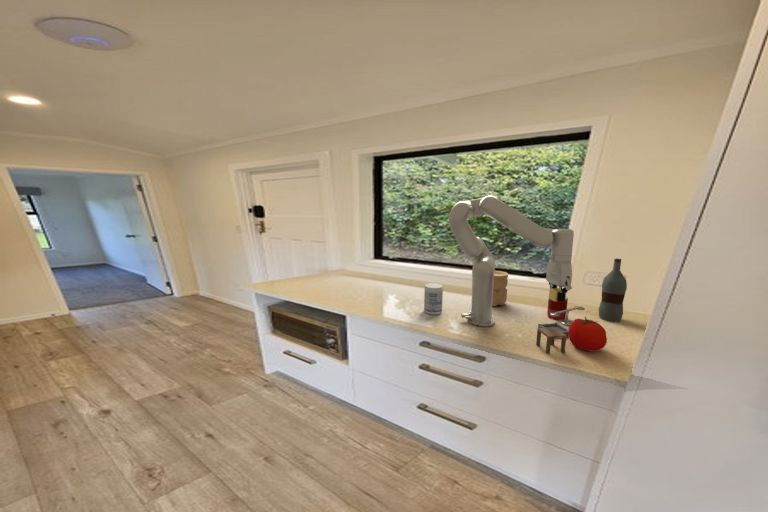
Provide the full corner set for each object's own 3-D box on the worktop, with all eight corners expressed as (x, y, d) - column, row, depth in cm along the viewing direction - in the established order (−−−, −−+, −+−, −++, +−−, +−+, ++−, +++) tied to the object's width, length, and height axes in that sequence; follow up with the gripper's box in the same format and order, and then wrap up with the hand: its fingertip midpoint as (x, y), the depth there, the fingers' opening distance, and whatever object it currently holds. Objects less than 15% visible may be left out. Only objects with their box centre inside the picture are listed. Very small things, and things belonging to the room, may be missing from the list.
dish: (551, 337, 119) (551, 333, 119) (537, 328, 128) (538, 324, 128) (570, 336, 120) (571, 331, 120) (556, 327, 129) (556, 323, 128)
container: (484, 306, 156) (485, 275, 153) (481, 299, 168) (483, 270, 165) (508, 308, 153) (510, 276, 150) (503, 300, 165) (505, 270, 162)
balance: (552, 326, 129) (554, 309, 128) (547, 323, 133) (548, 306, 131) (584, 325, 130) (586, 308, 129) (578, 321, 134) (580, 304, 133)
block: (555, 301, 119) (555, 291, 118) (548, 298, 123) (549, 288, 122) (563, 300, 119) (564, 290, 118) (557, 297, 123) (558, 288, 122)
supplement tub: (430, 316, 144) (430, 289, 141) (420, 310, 152) (421, 284, 150) (445, 313, 147) (446, 286, 145) (435, 307, 156) (436, 282, 153)
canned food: (568, 321, 135) (570, 299, 133) (550, 319, 137) (552, 298, 135) (561, 314, 142) (564, 294, 140) (544, 313, 144) (546, 293, 142)
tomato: (584, 338, 118) (587, 312, 116) (615, 355, 105) (619, 326, 103) (558, 341, 116) (561, 315, 114) (586, 358, 103) (590, 329, 101)
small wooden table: (547, 353, 107) (549, 336, 105) (536, 344, 113) (537, 328, 112) (564, 352, 107) (566, 335, 106) (552, 343, 114) (554, 327, 113)
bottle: (612, 315, 141) (620, 257, 135) (627, 322, 132) (636, 260, 126) (593, 315, 141) (600, 257, 136) (606, 322, 132) (615, 261, 127)
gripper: (539, 255, 126) (537, 293, 129) (566, 262, 109) (562, 306, 112) (555, 254, 126) (552, 293, 129) (584, 261, 110) (580, 305, 113)
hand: (557, 299), depth 121 cm, fingers closed on block, 4 cm apart
